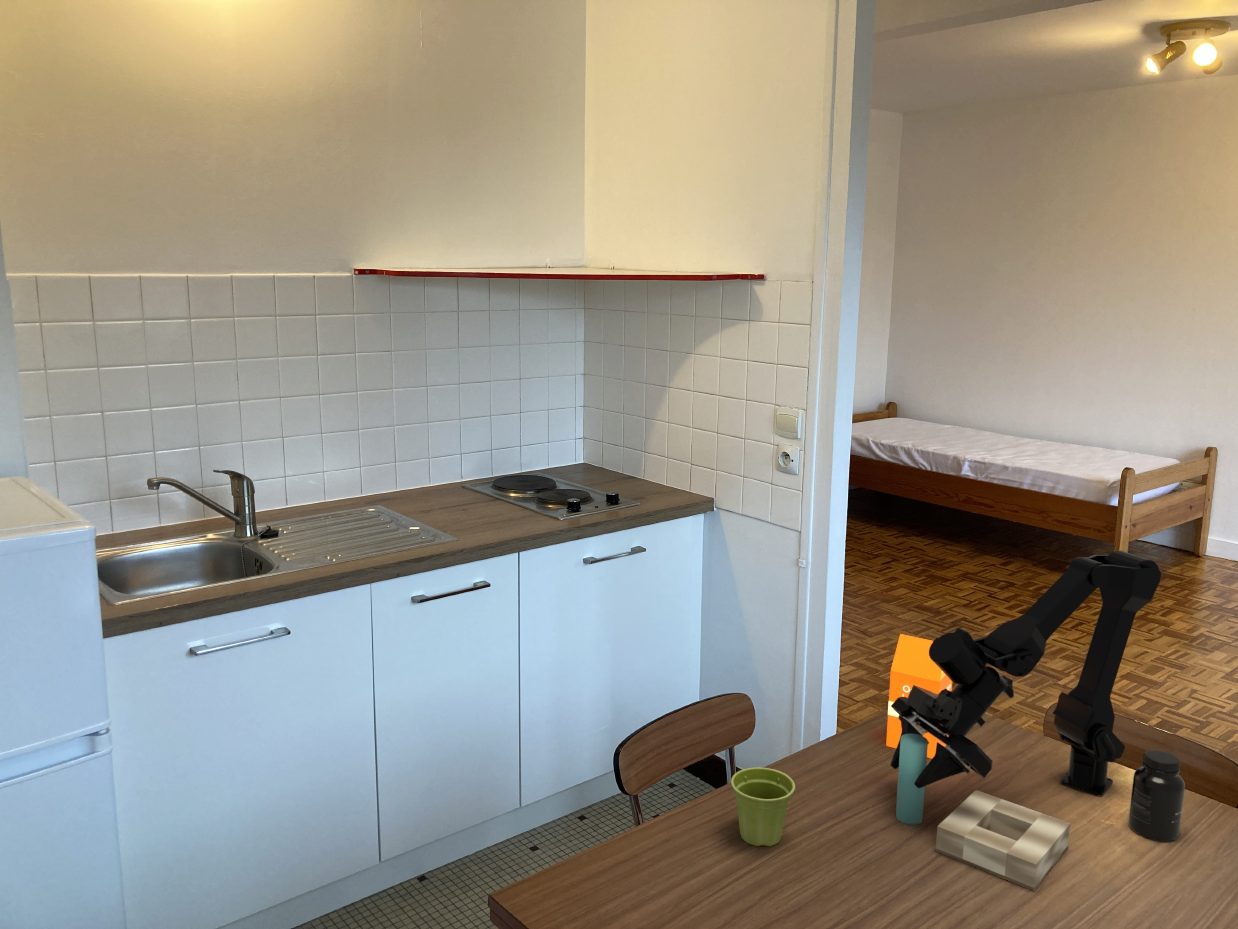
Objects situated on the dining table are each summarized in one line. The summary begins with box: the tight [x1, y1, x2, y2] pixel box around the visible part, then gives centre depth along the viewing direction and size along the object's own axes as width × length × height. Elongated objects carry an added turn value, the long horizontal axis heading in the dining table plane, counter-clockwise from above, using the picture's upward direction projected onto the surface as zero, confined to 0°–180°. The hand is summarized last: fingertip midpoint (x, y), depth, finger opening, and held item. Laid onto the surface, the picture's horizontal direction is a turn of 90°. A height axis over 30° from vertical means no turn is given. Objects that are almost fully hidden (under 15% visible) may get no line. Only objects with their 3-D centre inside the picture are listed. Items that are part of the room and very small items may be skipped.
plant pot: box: [730, 766, 796, 847], centre depth 144 cm, size 9×9×9 cm
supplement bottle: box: [1128, 749, 1186, 842], centre depth 146 cm, size 7×7×12 cm
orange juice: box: [885, 633, 953, 760], centre depth 172 cm, size 8×9×20 cm
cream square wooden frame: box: [935, 789, 1071, 892], centre depth 141 cm, size 14×14×4 cm
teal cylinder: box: [895, 734, 928, 825], centre depth 149 cm, size 4×4×13 cm
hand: (904, 776), depth 148 cm, fingers open, 6 cm apart
